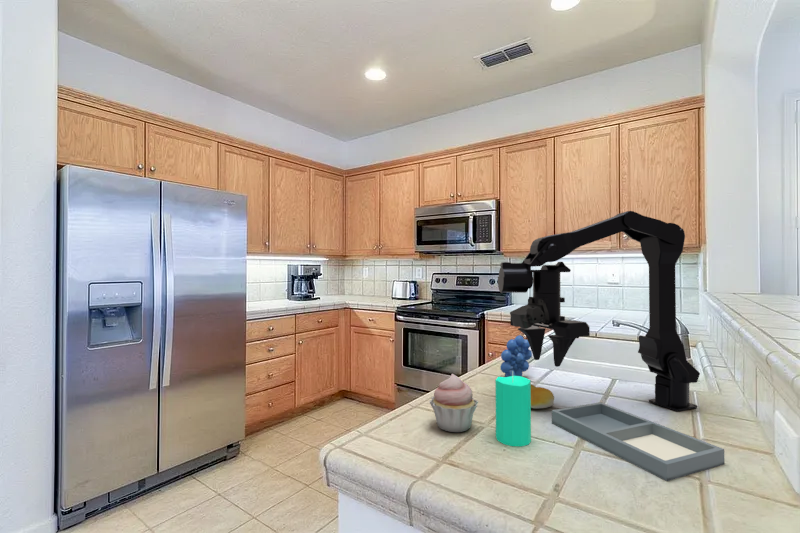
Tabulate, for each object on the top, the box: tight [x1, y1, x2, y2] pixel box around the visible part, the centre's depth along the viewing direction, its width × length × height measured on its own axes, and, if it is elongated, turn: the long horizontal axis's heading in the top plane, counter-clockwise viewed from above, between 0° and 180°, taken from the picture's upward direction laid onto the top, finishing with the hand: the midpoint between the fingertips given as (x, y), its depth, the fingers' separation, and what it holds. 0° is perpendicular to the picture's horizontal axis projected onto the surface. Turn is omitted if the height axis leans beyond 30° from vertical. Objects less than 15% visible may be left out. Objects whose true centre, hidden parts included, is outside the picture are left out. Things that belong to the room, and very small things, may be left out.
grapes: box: [499, 334, 533, 377], centre depth 106 cm, size 12×7×12 cm, turn 123°
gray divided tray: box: [551, 401, 725, 482], centre depth 67 cm, size 13×22×2 cm, turn 21°
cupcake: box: [428, 373, 479, 433], centre depth 74 cm, size 9×9×10 cm
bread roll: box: [531, 383, 555, 409], centre depth 85 cm, size 8×9×4 cm
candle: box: [494, 371, 532, 447], centre depth 68 cm, size 6×6×12 cm
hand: (546, 363), depth 85 cm, fingers open, 6 cm apart
